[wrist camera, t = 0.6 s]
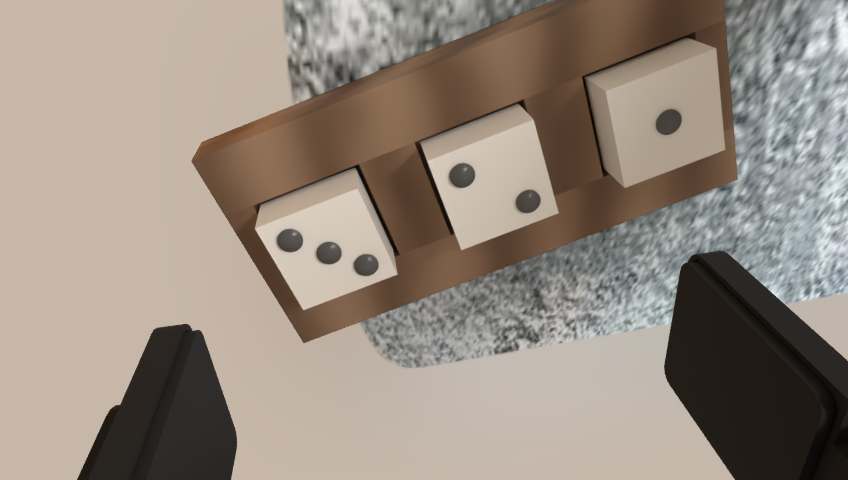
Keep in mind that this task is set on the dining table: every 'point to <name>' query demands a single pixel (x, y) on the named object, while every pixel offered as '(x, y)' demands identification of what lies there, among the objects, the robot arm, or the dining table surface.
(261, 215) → the tile three
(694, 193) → the panel
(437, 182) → the tile two
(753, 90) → the dining table surface
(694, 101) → the tile one
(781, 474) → the robot arm
